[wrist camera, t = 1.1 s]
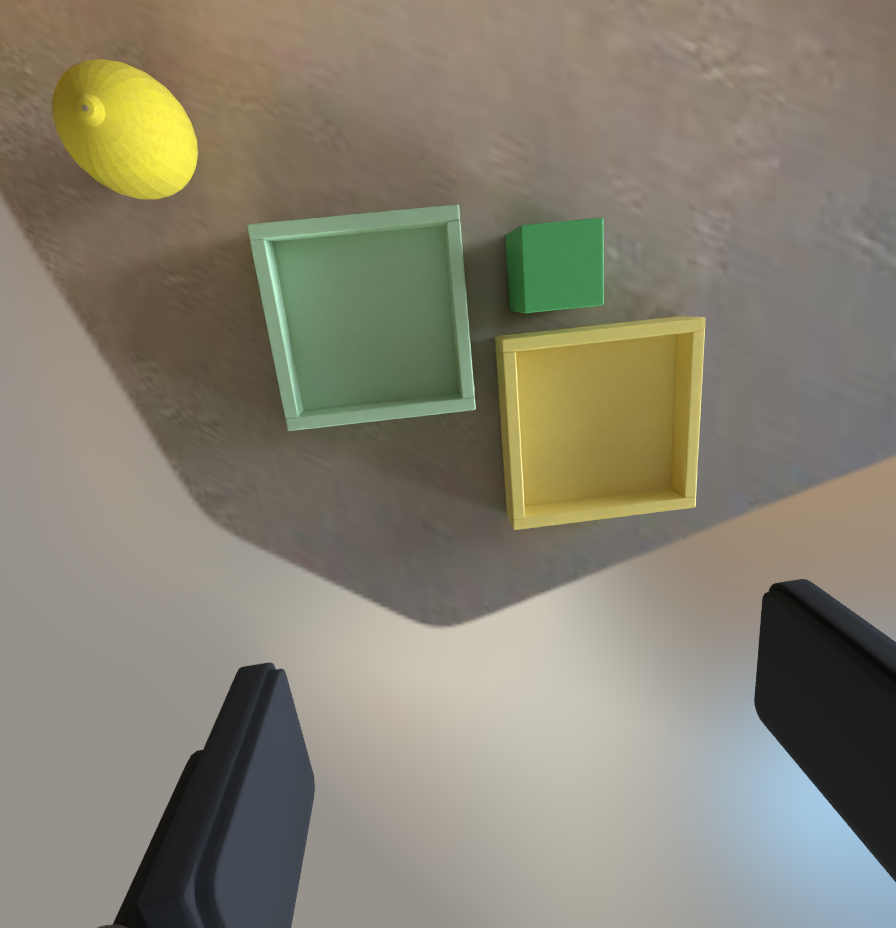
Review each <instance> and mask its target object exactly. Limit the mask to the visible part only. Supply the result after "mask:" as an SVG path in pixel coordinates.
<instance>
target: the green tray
mask: <svg viewBox="0 0 896 928" xmlns="http://www.w3.org/2000/svg"><path fill="white" fill-rule="evenodd" d="M459 220H460V212H459V205H448V206H437V207H427V208H416V209H406V210H395V211H385V212H374V213H363V214H353V215H342V216H332V217H321V218H311V219H300V220H290V221H279V222H269V223H258V224H248V225H247V229H248V234H249V239H250V245H251V250H252V255H253V260H254V265H255V270H256V275H257V280H258V285H259V290H260V295H261V300H262V305H263V310H264V315H265V320H266V325H267V330H268V335H269V340H270V345H271V350H272V355H273V360H274V365H275V370H276V375H277V380H278V385H279V390H280V395H281V400H282V405H283V410H284V415H285V418H286V424H287V429H288V431H293V430H302V429H311V428H320V427H328V426H337V425H346V424H355V423H363V422H372V421H381V420H390V419H399V418H407V417H416V416H425V415H434V414H442V413H451V412H460V411H469V410H475V409H476V406H475V398H474V396H475V394H474V382H473V370H472V358H471V346H470V334H469V321H468V309H467V297H466V285H465V273H464V261H463V249H462V237H461V224H460V221H459Z"/></svg>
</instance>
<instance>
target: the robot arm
mask: <svg viewBox="0 0 896 928" xmlns="http://www.w3.org/2000/svg"><path fill="white" fill-rule="evenodd" d="M754 702H755V708H756V711H757V714H758V716H759V718H760V720H761V721H762V722H763V724H764V725H765V726H766V727H767V728H768V730H769V731H770V732H771V733H772V734H773V736H775V738H776V739H777V740H778V742H779V743H780V744H781V745H782V746H783V748H784V749H785V750H786V751H787V752H788V754H789V755H790V756H791V757H792V758H793V760H794V761H795V762H796V763H797V764H798V765H799V767H800V768H801V769H802V770H803V772H804V773H805V774H806V775H807V776H808V778H809V779H810V780H811V781H812V782H813V784H814V785H815V786H816V787H817V788H818V790H819V791H820V792H821V793H822V794H823V796H824V797H825V798H826V799H827V800H828V802H829V803H830V804H831V805H832V806H833V808H834V809H835V810H836V811H837V812H838V814H839V815H840V816H841V817H842V818H843V819H844V821H845V822H846V823H847V824H848V826H850V828H851V829H852V830H853V832H854V833H855V834H856V835H857V836H858V838H859V839H860V840H861V841H862V842H863V843H864V845H865V846H866V847H867V848H868V849H869V851H870V852H871V853H872V854H873V855H874V857H875V858H876V859H877V860H878V861H879V863H880V864H881V865H882V866H883V867H884V869H885V870H886V871H887V872H888V873H889V875H890V876H891V877H892V878H893V879H894V881H895V882H896V642H895V641H893V640H892V639H891V638H889V637H888V636H886V635H885V634H884V633H882V632H881V631H879V630H878V629H876V628H875V627H874V626H872V625H871V624H870V623H868V622H867V621H865V620H864V619H863V618H861V617H860V616H858V615H857V614H855V613H854V612H853V611H851V610H850V609H848V608H847V607H846V606H844V605H843V604H841V603H840V602H839V601H837V600H836V599H834V598H833V597H832V596H830V595H829V594H827V593H826V592H825V591H823V590H822V589H820V588H819V587H817V586H816V585H815V584H813V583H812V582H810V581H808V580H805V579H800V580H793V581H786V582H781V583H775V584H773V585H772V586H771V587H770V589H769V592H767V593H765V594H764V596H763V599H762V611H761V625H760V636H759V649H758V661H757V674H756V686H755V699H754ZM314 788H315V785H314V775H313V771H312V767H311V764H310V760H309V756H308V753H307V749H306V745H305V742H304V738H303V734H302V731H301V727H300V723H299V720H298V716H297V713H296V709H295V705H294V701H293V698H292V694H291V691H290V687H289V683H288V679H287V676H286V673H285V671H284V669H278V670H276V669H275V666H274V665H273V663H264V664H257V665H251V666H245V667H241V668H239V670H238V672H237V673H236V676H235V678H234V680H233V683H232V685H231V687H230V690H229V692H228V694H227V696H226V699H225V701H224V703H223V706H222V708H221V710H220V712H219V715H218V717H217V719H216V722H215V724H214V726H213V729H212V731H211V733H210V735H209V738H208V740H207V742H206V745H205V747H204V749H203V750H199V751H196V752H195V753H194V754H192V755H191V757H190V759H189V760H188V762H187V764H186V766H185V768H184V770H183V772H182V775H181V777H180V779H179V781H178V783H177V785H176V788H175V790H174V792H173V794H172V796H171V799H170V801H169V803H168V805H167V807H166V809H165V812H164V814H163V816H162V818H161V820H160V823H159V825H158V827H157V829H156V832H155V833H154V836H153V838H152V840H151V842H150V844H149V847H148V849H147V851H146V853H145V855H144V858H143V860H142V862H141V864H140V866H139V868H138V871H137V873H136V875H135V877H134V879H133V881H132V884H131V886H130V888H129V890H128V892H127V895H126V897H125V899H124V901H123V904H122V906H121V908H120V910H119V912H118V914H117V916H116V919H115V921H114V923H113V925H105V926H100V927H98V928H291V925H292V919H293V913H294V908H295V902H296V897H297V891H298V885H299V879H300V874H301V868H302V862H303V856H304V851H305V845H306V840H307V834H308V828H309V823H310V817H311V811H312V805H313V800H314V790H315V789H314Z"/></svg>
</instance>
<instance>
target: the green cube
mask: <svg viewBox="0 0 896 928" xmlns="http://www.w3.org/2000/svg"><path fill="white" fill-rule="evenodd" d="M505 241H506V258H507V275H508V292H509V309H510V311H515V312H521V313H533V312H542V311H552V310H561V309H571V308H580V307H589V306H599V305H603V304H604V256H603V218H592V219H582V220H572V221H561V222H551V223H541V224H531V225H522V226H520V227H518V228H516V229H515V230H513V231H511V232H510V233H508V234H506V235H505Z"/></svg>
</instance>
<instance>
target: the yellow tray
mask: <svg viewBox="0 0 896 928" xmlns="http://www.w3.org/2000/svg"><path fill="white" fill-rule="evenodd" d="M704 330H705V317H692V316H678V317H669V318H659V319H650V320H641V321H631V322H622V323H613V324H604V325H594V326H585V327H576V328H566V329H557V330H548V331H538V332H529V333H520V334H511V335H501V336H495V346H496V361H497V375H498V390H499V405H500V420H501V434H502V449H503V464H504V479H505V493H506V508H507V516H508V518H509V520H510V522H511V524H512V526H513V528H514V530H518V529H526V528H534V527H542V526H550V525H558V524H565V523H573V522H581V521H589V520H597V519H605V518H613V517H621V516H629V515H637V514H645V513H653V512H661V511H669V510H677V509H685V508H692V507H695V504H696V497H695V496H696V483H697V465H698V446H699V428H700V409H701V391H702V373H703V354H704V336H705V332H704Z"/></svg>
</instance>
